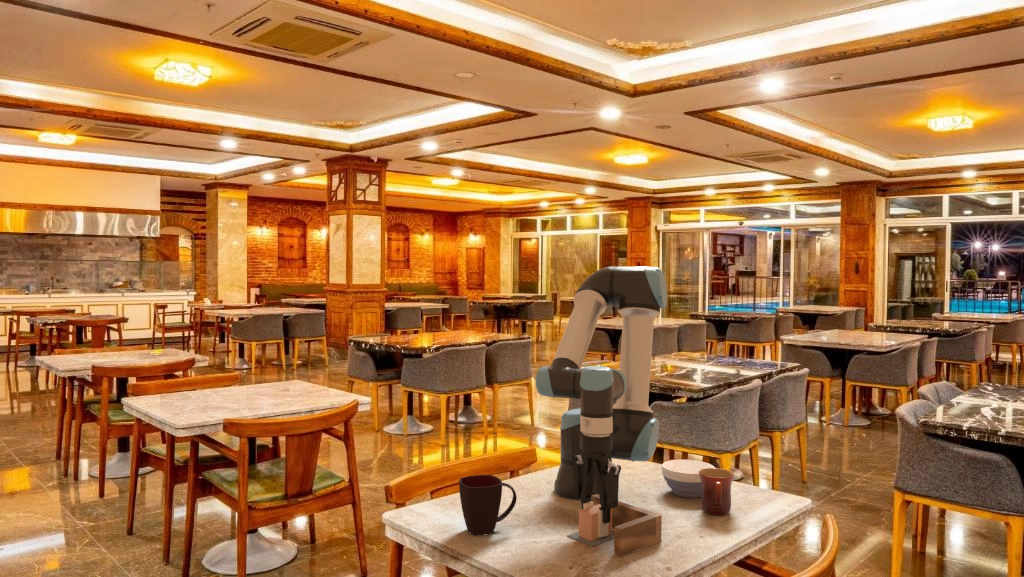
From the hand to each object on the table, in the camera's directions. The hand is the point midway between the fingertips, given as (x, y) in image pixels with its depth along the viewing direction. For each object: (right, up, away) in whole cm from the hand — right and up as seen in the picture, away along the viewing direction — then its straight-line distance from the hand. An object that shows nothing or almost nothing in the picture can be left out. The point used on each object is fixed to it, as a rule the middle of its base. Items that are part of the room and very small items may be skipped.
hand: (595, 532), depth 166 cm
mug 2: (+32, -1, +15) cm, 36 cm away
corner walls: (+3, -1, 0) cm, 3 cm away
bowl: (+30, 0, +32) cm, 44 cm away
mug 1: (-25, -1, +4) cm, 25 cm away
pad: (0, -1, 0) cm, 1 cm away
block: (0, 0, 0) cm, 0 cm away
